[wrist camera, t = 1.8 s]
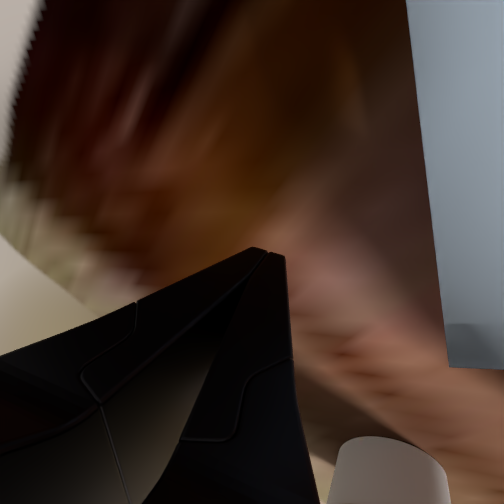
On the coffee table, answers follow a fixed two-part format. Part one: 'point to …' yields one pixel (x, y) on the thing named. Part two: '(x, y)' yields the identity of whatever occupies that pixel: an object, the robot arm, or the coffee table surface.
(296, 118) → the coffee table surface
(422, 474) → the coffee cup
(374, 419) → the coffee table surface
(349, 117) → the coffee table surface
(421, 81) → the gate
